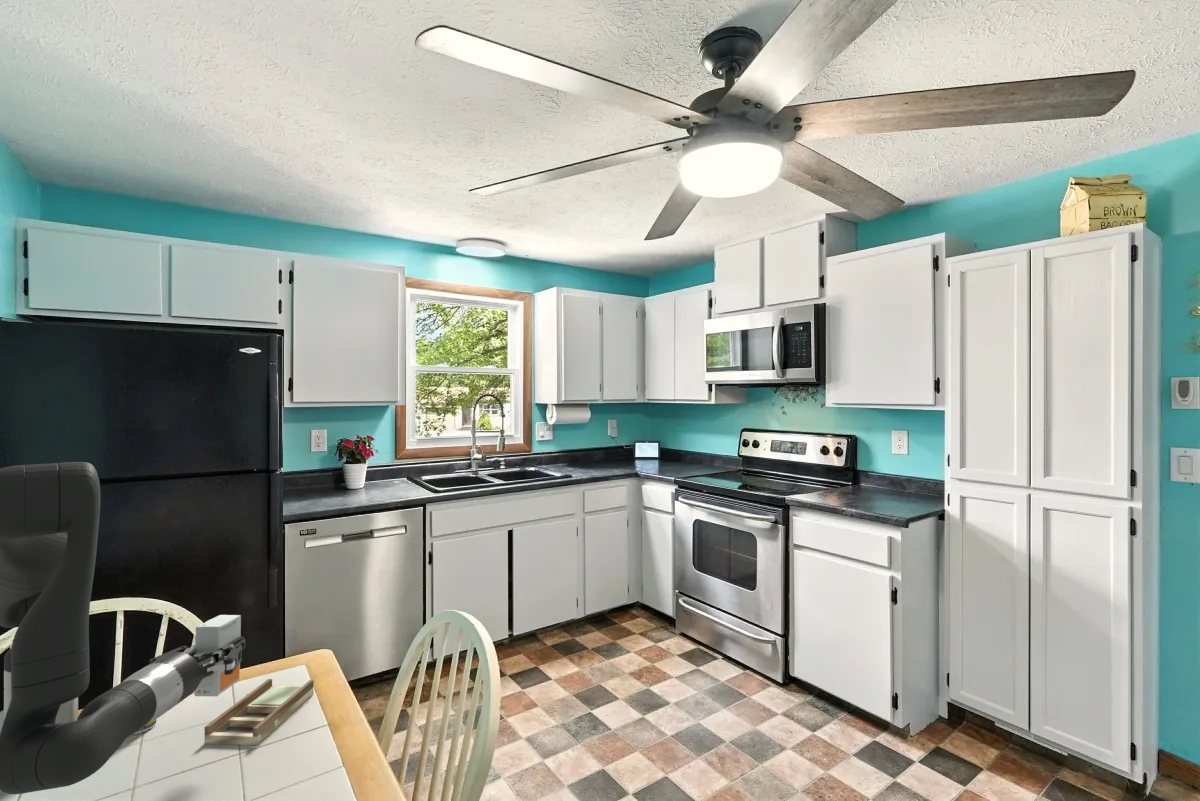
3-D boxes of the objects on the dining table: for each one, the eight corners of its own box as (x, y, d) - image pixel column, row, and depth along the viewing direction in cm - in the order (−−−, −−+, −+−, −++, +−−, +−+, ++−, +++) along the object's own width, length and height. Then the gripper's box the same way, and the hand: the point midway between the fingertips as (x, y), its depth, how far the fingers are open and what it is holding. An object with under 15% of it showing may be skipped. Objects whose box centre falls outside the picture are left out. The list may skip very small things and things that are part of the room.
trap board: (204, 743, 103) (204, 726, 103) (268, 692, 120) (268, 678, 121) (256, 745, 102) (257, 728, 102) (313, 694, 120) (313, 680, 120)
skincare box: (218, 697, 96) (218, 627, 96) (193, 697, 96) (194, 627, 96) (241, 680, 102) (241, 614, 102) (218, 680, 102) (218, 614, 103)
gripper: (204, 663, 85) (268, 620, 102) (109, 664, 85) (189, 621, 102) (203, 713, 85) (268, 662, 102) (108, 714, 85) (189, 663, 102)
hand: (228, 642), depth 102 cm, fingers closed on skincare box, 4 cm apart
